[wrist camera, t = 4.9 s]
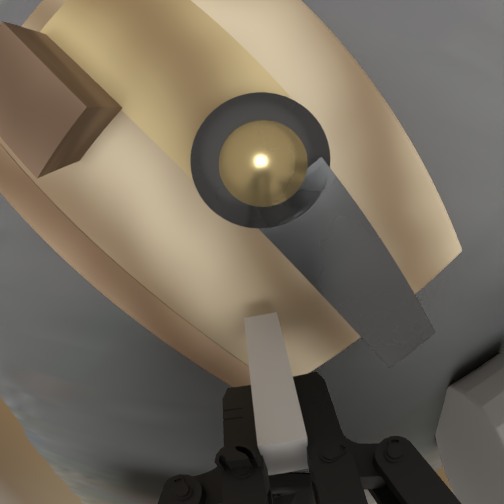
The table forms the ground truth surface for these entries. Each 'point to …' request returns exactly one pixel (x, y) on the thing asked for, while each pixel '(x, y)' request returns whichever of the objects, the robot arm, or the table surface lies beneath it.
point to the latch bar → (305, 214)
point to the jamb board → (179, 167)
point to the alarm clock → (475, 434)
